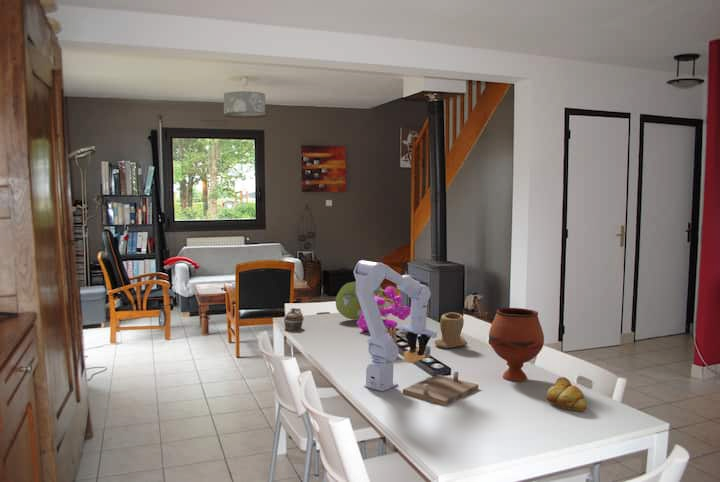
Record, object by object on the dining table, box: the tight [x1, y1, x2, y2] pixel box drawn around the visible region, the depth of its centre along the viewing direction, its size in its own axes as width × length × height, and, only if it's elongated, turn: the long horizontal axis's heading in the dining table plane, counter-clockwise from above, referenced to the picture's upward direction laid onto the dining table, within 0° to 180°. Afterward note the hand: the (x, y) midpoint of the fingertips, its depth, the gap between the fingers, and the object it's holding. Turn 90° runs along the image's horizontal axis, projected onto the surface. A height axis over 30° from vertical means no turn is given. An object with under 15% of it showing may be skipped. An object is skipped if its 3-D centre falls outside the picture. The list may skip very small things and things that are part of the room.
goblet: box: [488, 307, 545, 383], centre depth 203 cm, size 19×19×25 cm
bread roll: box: [546, 376, 588, 412], centre depth 176 cm, size 13×10×8 cm
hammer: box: [403, 345, 432, 364], centre depth 203 cm, size 13×4×4 cm, turn 140°
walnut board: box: [402, 370, 479, 407], centre depth 188 cm, size 22×16×4 cm
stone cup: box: [433, 312, 468, 349], centre depth 248 cm, size 15×12×15 cm
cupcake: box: [283, 307, 305, 332], centre depth 275 cm, size 10×10×10 cm
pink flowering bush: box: [335, 281, 411, 332], centre depth 285 cm, size 30×28×35 cm
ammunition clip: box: [385, 327, 398, 346], centre depth 229 cm, size 11×2×12 cm, turn 115°
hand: (417, 354), depth 203 cm, fingers closed on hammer, 3 cm apart
